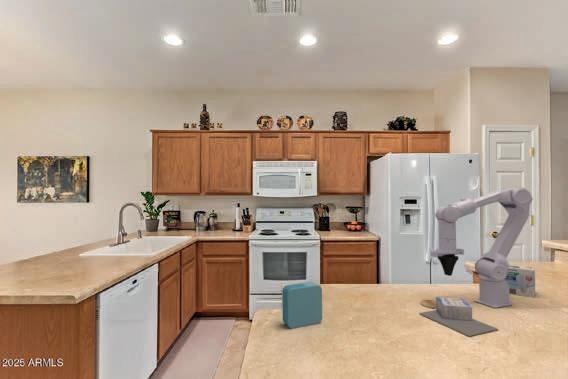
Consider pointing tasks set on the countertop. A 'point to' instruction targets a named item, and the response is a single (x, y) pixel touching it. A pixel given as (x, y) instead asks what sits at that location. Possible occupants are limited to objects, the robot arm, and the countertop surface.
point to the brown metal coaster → (429, 303)
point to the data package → (302, 304)
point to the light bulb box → (521, 280)
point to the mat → (460, 324)
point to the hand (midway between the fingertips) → (448, 275)
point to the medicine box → (454, 308)
